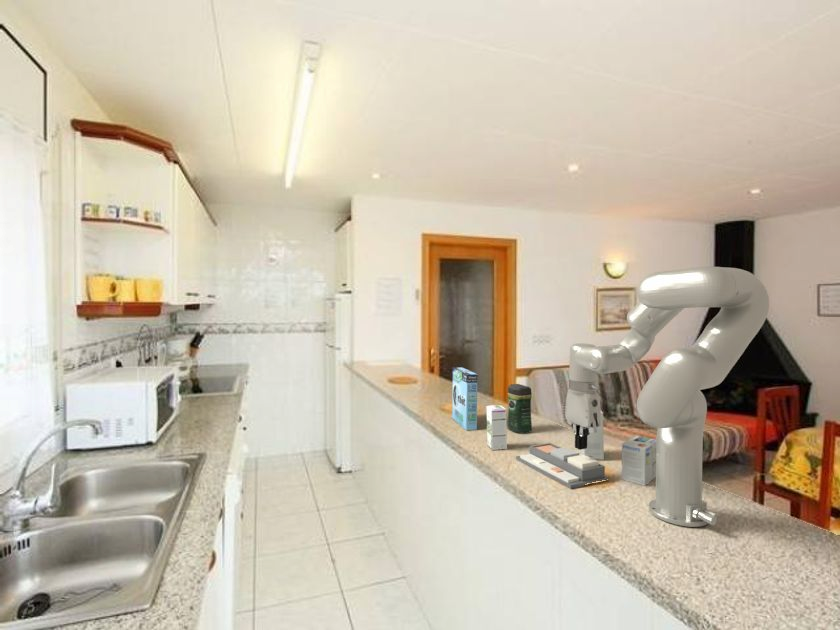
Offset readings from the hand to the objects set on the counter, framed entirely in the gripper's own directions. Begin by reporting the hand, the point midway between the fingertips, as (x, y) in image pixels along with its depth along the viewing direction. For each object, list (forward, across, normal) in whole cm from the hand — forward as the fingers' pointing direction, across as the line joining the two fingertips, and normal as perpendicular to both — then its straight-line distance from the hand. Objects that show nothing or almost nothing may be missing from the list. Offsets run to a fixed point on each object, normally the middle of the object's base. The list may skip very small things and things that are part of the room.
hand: (580, 448), depth 129 cm
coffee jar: (+10, +46, -12) cm, 49 cm away
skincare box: (+9, +12, -16) cm, 22 cm away
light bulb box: (+8, -8, -15) cm, 19 cm away
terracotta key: (+7, +14, 0) cm, 16 cm away
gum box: (+10, +64, +4) cm, 64 cm away
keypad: (+9, +7, +2) cm, 11 cm away
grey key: (+6, +7, 0) cm, 9 cm away
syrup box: (+10, +32, +8) cm, 34 cm away
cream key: (+6, -1, 0) cm, 6 cm away
